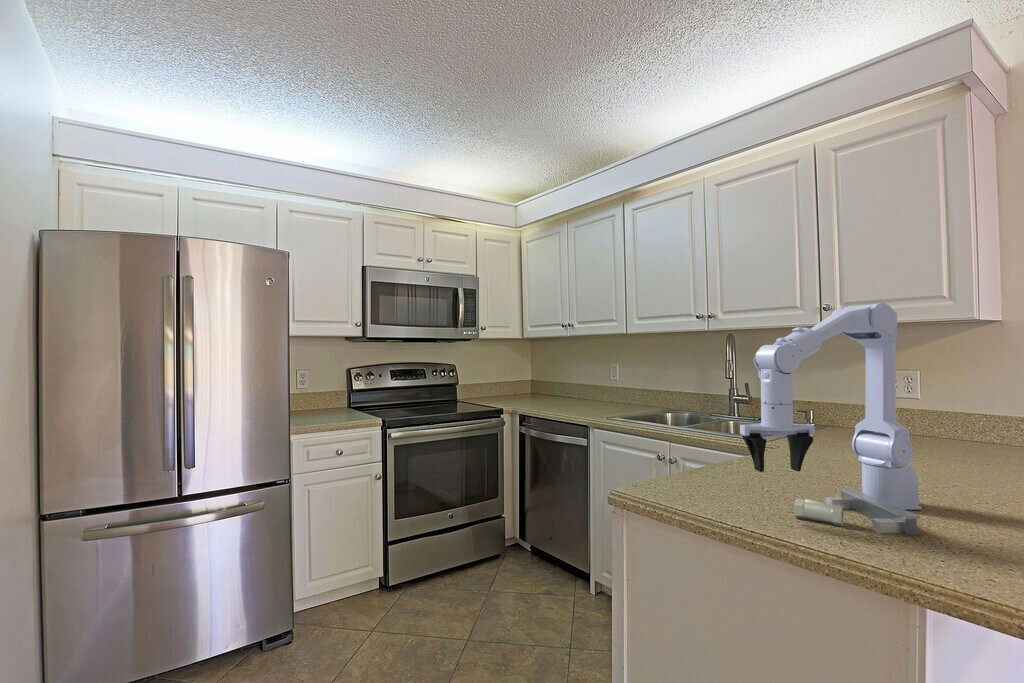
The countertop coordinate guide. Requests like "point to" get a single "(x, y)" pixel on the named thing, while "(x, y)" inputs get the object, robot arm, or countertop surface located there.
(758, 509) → the countertop surface
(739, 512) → the countertop surface
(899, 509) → the grey bracket
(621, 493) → the countertop surface
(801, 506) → the pipe fitting
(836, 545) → the countertop surface
